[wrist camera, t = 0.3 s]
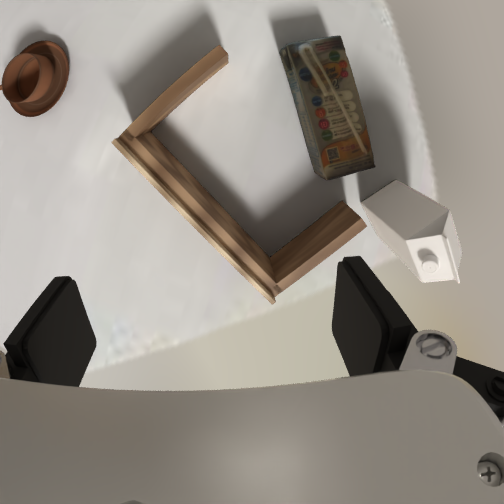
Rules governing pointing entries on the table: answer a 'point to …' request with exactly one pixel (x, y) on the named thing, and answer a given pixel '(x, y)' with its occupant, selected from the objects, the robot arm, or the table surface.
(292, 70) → the beverage carton
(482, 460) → the robot arm
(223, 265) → the table surface
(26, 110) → the cup and saucer
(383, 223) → the milk carton
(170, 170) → the frame
